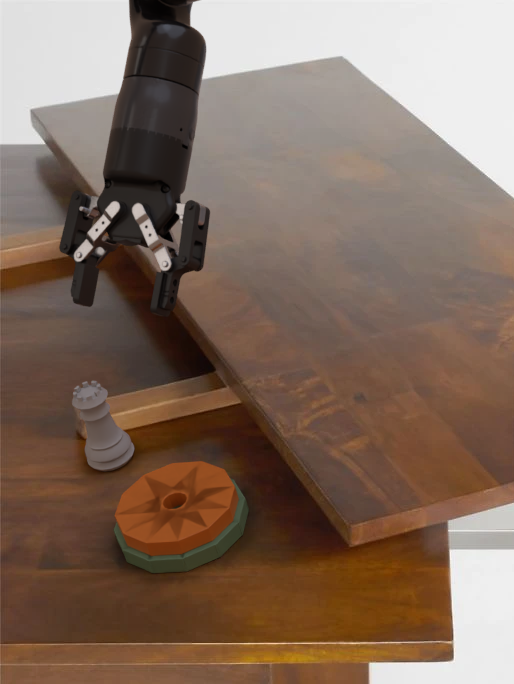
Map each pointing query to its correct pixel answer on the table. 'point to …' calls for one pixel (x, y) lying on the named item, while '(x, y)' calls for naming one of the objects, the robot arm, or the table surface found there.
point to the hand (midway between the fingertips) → (120, 310)
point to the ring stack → (180, 517)
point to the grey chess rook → (101, 429)
